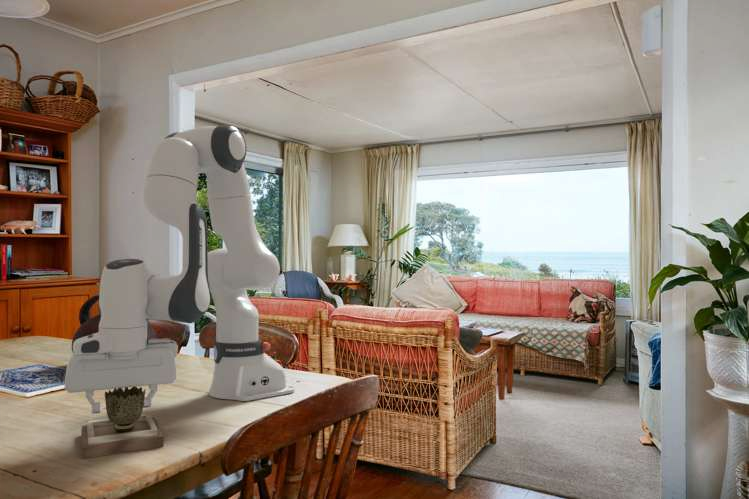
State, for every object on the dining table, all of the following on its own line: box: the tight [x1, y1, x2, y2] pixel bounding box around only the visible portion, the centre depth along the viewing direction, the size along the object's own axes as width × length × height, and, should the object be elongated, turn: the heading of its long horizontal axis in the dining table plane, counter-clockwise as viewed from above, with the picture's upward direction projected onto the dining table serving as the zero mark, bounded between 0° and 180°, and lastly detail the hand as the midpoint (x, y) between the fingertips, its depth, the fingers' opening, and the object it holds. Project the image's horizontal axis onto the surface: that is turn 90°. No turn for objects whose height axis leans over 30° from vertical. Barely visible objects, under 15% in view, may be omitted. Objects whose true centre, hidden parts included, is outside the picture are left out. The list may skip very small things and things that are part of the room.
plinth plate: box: [80, 413, 165, 459], centre depth 109 cm, size 14×14×3 cm
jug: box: [71, 294, 157, 354], centre depth 180 cm, size 25×25×25 cm
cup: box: [104, 386, 147, 432], centre depth 109 cm, size 8×7×8 cm
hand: (121, 409), depth 109 cm, fingers open, 8 cm apart
